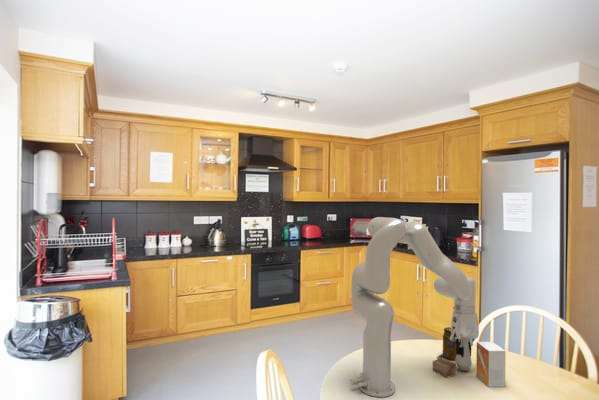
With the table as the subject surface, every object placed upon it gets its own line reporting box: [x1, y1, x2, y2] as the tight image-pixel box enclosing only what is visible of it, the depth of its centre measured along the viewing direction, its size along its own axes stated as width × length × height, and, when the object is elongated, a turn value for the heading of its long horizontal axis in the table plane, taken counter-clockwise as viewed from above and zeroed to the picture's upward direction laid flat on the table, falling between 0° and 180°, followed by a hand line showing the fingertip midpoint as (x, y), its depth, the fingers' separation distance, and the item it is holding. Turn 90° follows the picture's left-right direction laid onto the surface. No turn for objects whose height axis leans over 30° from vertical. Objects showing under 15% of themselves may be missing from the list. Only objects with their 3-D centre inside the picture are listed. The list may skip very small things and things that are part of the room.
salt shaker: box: [455, 340, 473, 372], centre depth 135 cm, size 6×6×13 cm
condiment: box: [436, 326, 456, 363], centre depth 145 cm, size 7×8×12 cm
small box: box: [475, 341, 506, 388], centre depth 126 cm, size 8×6×13 cm
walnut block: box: [432, 358, 457, 378], centre depth 133 cm, size 6×6×4 cm
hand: (463, 355), depth 135 cm, fingers closed on salt shaker, 3 cm apart
